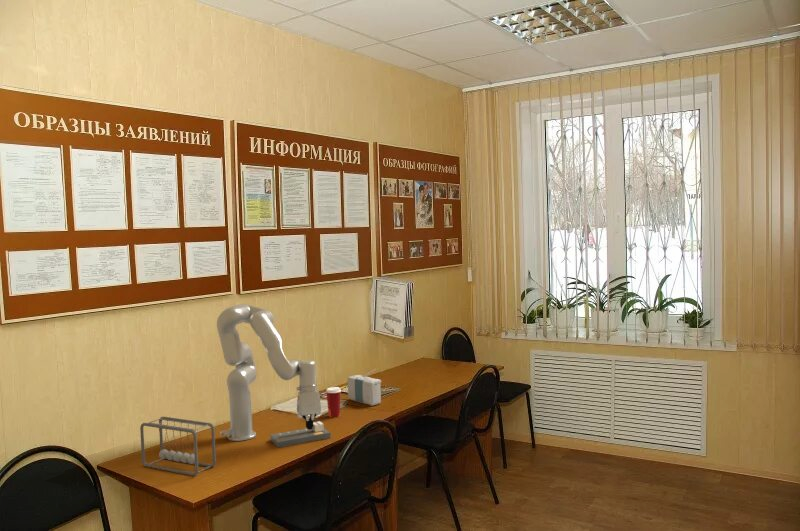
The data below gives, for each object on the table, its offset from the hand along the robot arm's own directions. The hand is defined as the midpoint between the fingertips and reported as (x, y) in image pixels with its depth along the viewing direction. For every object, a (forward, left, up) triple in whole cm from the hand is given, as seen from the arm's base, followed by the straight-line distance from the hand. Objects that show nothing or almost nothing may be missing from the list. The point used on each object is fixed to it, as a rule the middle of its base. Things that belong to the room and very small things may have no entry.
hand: (309, 428), depth 275 cm
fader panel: (-4, 0, -4) cm, 6 cm away
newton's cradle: (-57, -6, -4) cm, 57 cm away
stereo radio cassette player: (+46, +42, -4) cm, 62 cm away
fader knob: (+4, 0, -1) cm, 4 cm away
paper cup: (+22, +26, -4) cm, 34 cm away
